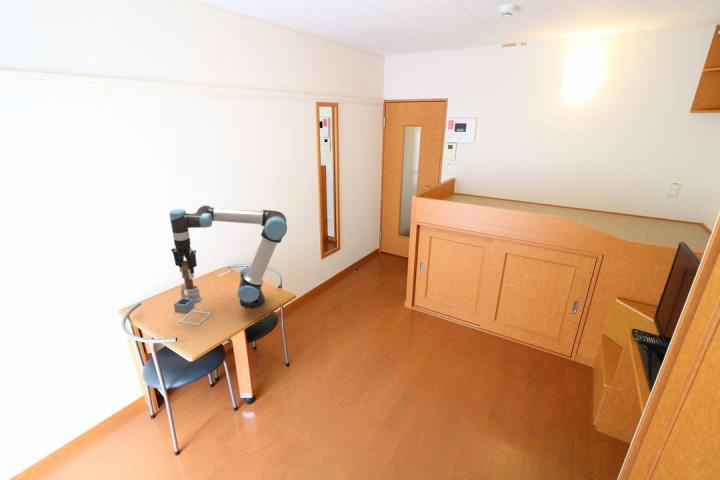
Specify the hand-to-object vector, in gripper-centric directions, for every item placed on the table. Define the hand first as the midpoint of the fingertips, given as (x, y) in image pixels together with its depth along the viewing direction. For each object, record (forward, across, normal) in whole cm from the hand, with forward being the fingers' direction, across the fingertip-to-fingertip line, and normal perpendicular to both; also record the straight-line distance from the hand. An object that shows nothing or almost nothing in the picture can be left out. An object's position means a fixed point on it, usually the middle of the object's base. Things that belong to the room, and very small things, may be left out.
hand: (188, 277), depth 185 cm
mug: (+27, +14, -15) cm, 34 cm away
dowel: (+6, 0, 0) cm, 6 cm away
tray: (+26, -2, +1) cm, 27 cm away
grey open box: (+26, +11, -5) cm, 29 cm away
